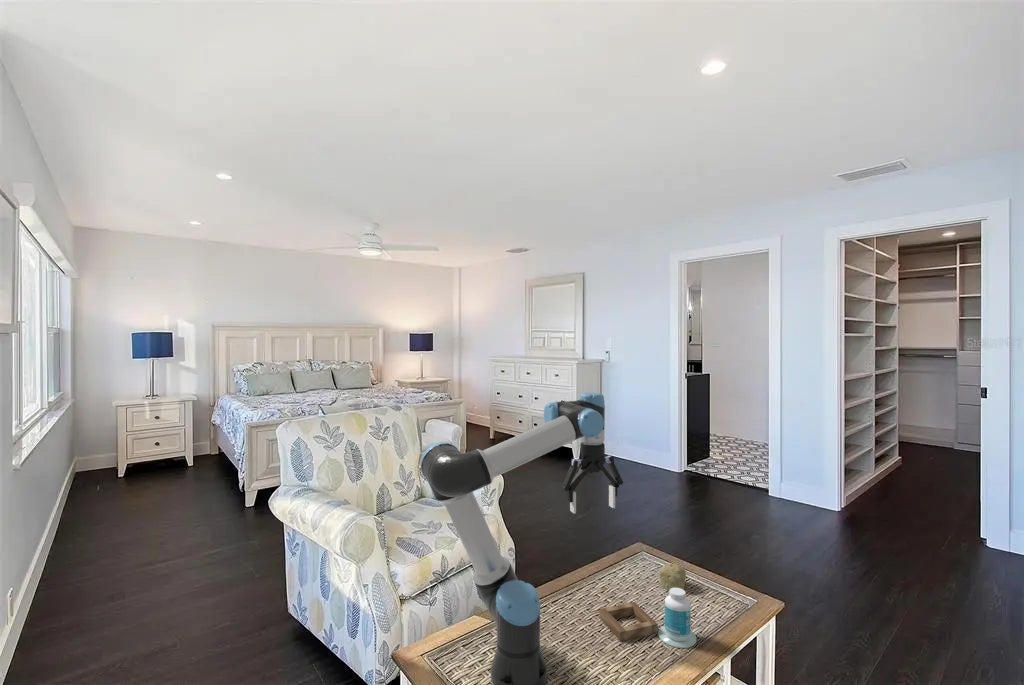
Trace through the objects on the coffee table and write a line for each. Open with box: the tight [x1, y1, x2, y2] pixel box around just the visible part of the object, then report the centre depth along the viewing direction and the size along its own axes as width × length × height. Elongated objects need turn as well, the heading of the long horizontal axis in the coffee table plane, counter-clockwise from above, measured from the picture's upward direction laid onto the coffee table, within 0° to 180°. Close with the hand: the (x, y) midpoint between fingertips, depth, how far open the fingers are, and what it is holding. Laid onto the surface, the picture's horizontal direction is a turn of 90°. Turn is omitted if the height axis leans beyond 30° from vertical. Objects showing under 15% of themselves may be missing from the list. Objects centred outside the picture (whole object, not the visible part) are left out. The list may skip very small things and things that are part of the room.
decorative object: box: [658, 562, 687, 591], centre depth 182 cm, size 9×10×10 cm
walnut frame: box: [598, 601, 659, 642], centre depth 158 cm, size 13×13×3 cm
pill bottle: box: [664, 588, 692, 641], centre depth 152 cm, size 8×7×14 cm
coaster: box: [657, 625, 697, 649], centre depth 152 cm, size 11×11×1 cm
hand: (592, 509), depth 158 cm, fingers open, 13 cm apart
